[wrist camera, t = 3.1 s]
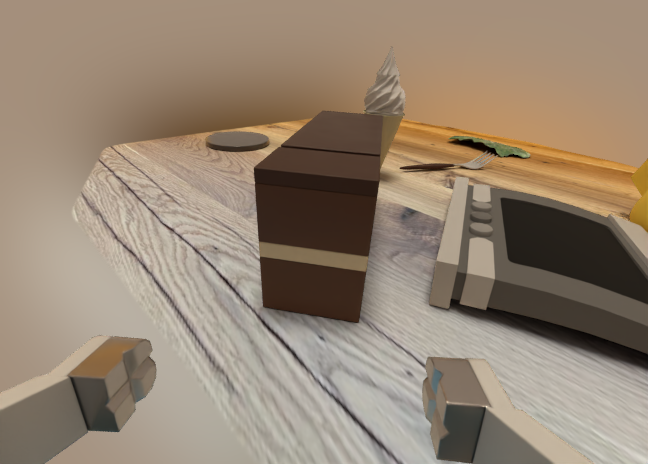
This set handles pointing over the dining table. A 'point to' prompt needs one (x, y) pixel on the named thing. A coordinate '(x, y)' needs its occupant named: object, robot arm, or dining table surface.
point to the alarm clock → (544, 263)
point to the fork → (468, 165)
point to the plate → (237, 141)
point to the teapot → (644, 210)
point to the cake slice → (315, 229)
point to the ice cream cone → (386, 101)
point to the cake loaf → (340, 134)
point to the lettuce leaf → (496, 146)
